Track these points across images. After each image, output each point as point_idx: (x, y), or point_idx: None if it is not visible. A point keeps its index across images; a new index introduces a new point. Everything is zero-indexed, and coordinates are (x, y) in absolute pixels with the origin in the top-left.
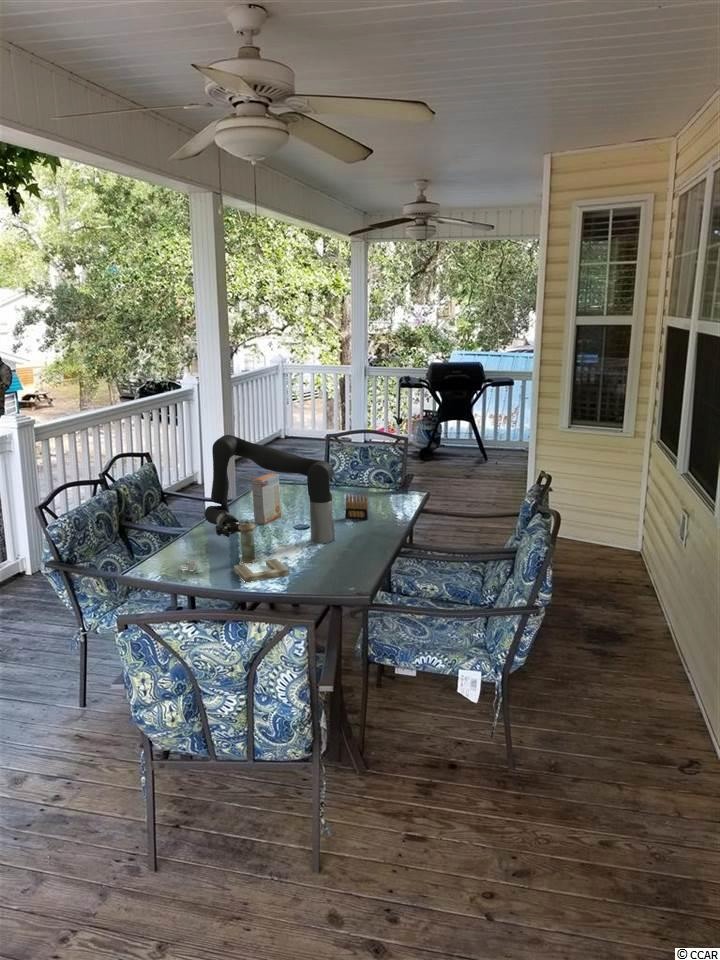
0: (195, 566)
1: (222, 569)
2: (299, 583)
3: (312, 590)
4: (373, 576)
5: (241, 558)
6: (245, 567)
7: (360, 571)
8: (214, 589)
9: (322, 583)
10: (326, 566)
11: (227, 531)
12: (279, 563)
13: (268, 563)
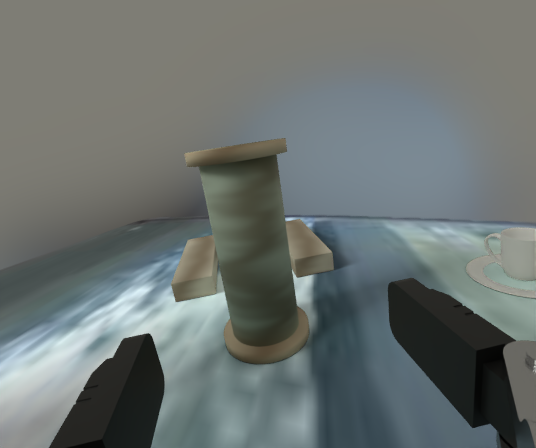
0: (501, 253)
1: (382, 279)
2: (195, 234)
3: (192, 223)
4: (59, 250)
5: (301, 332)
6: (293, 245)
7: (49, 262)
8: (371, 217)
9: (159, 235)
10: (72, 280)
11: (418, 290)
12: (185, 260)
13: (213, 266)
